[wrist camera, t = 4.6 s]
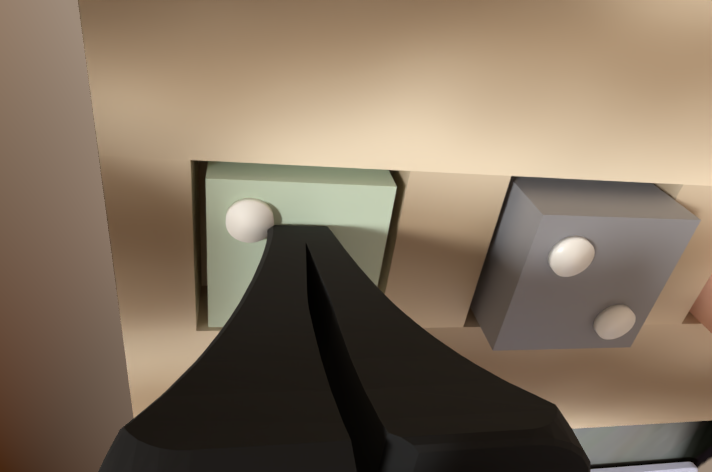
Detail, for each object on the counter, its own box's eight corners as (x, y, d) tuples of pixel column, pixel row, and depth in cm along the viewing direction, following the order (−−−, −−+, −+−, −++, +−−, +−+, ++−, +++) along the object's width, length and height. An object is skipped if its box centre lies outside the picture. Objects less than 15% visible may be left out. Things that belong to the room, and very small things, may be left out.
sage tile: (356, 277, 15) (371, 330, 14) (213, 276, 15) (207, 333, 13) (378, 149, 13) (399, 191, 11) (211, 138, 12) (204, 183, 11)
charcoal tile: (591, 299, 16) (634, 352, 14) (466, 299, 15) (495, 356, 13) (647, 179, 14) (707, 224, 12) (506, 172, 13) (546, 219, 11)
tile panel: (721, 368, 22) (767, 416, 20) (151, 388, 17) (138, 454, 15) (977, 1, 14) (1092, 20, 12) (97, -135, 10) (59, -139, 8)
